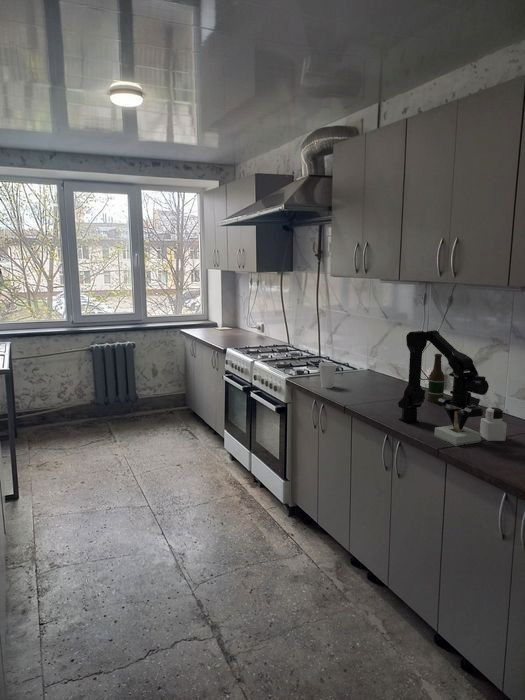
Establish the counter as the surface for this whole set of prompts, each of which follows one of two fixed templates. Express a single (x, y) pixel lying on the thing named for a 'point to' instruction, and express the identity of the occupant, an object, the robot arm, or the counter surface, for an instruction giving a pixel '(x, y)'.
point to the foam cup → (327, 374)
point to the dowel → (456, 423)
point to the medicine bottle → (493, 425)
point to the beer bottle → (436, 381)
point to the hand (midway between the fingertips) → (457, 427)
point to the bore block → (457, 435)
